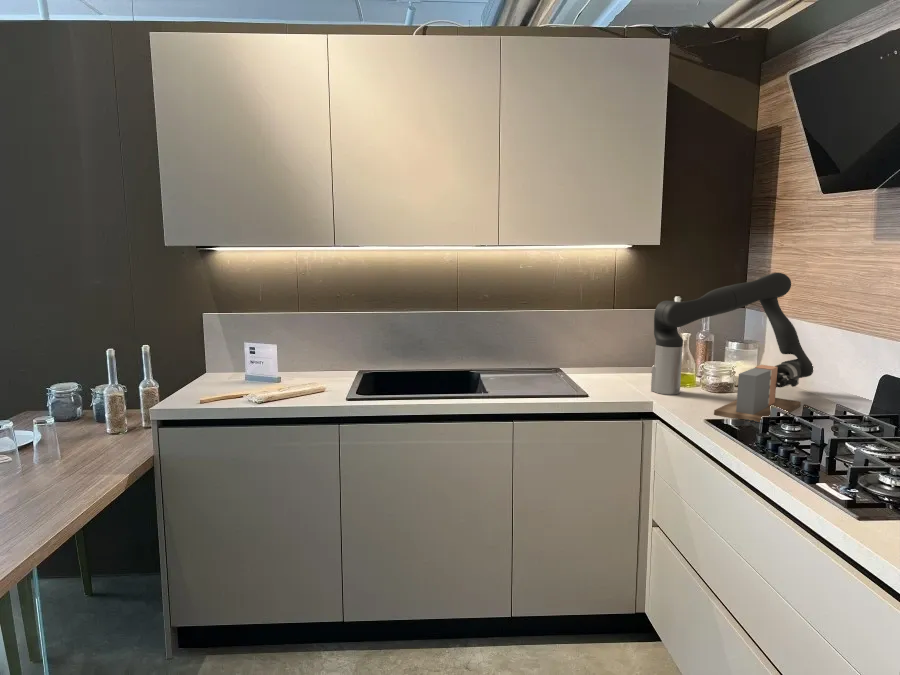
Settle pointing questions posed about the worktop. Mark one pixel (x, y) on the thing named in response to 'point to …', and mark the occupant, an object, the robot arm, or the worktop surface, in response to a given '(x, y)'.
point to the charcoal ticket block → (753, 390)
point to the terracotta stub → (773, 381)
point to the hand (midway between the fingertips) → (766, 381)
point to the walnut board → (731, 412)
